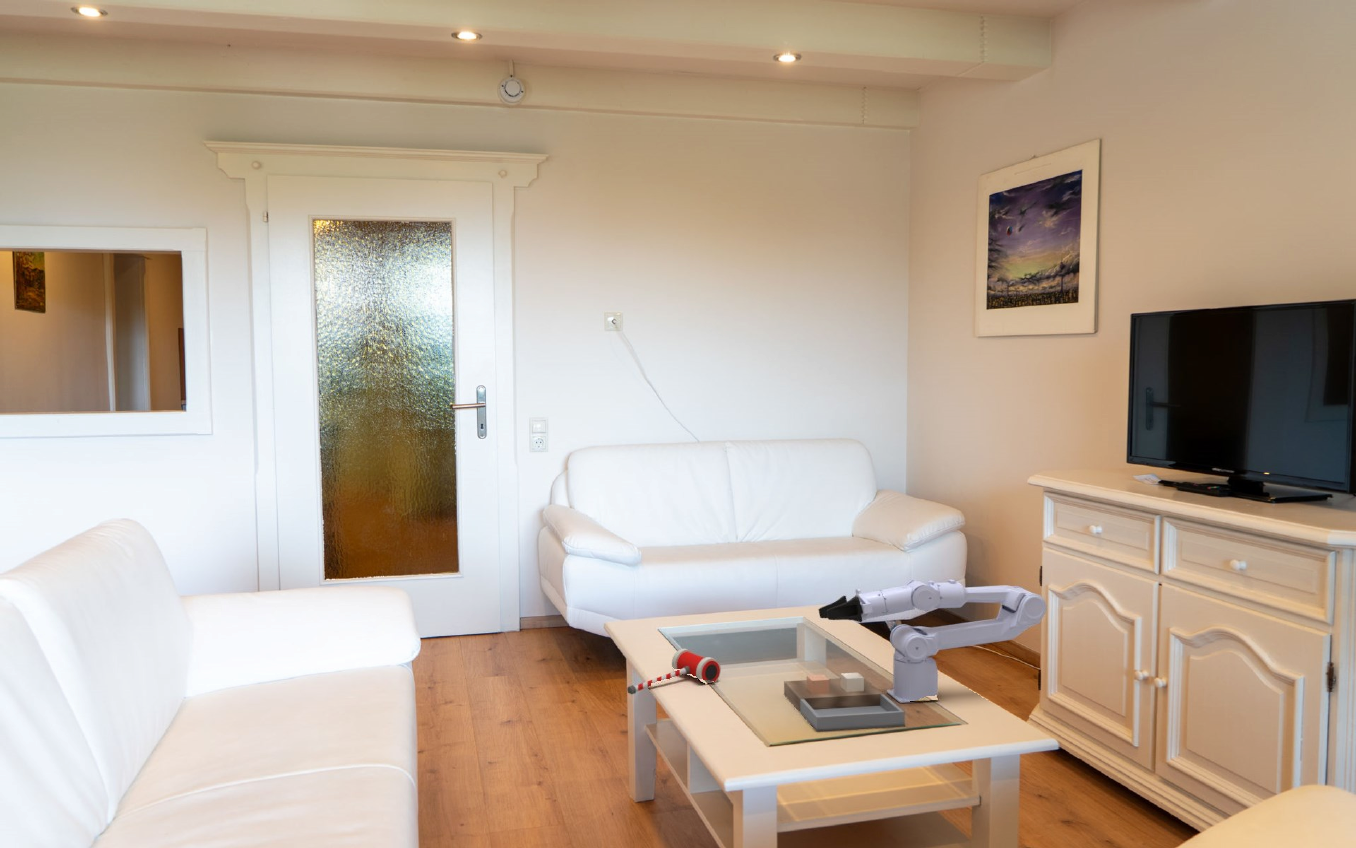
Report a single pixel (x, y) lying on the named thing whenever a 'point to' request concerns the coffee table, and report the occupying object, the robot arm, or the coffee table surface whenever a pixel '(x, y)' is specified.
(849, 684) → the tile cream
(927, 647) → the robot arm
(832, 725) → the box
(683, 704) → the coffee table surface
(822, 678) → the terracotta pink block
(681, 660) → the toy hammer
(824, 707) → the dark wooden platform
